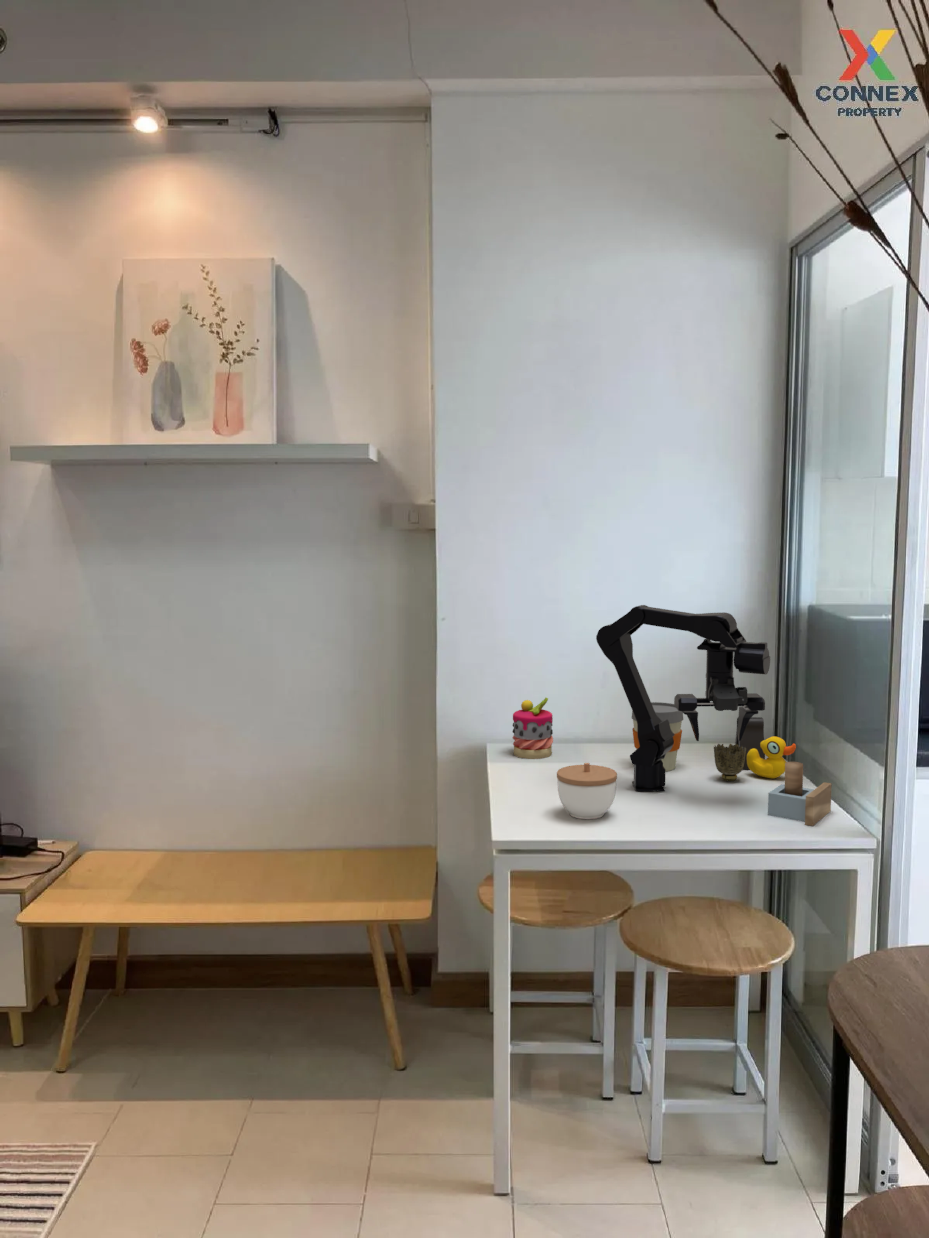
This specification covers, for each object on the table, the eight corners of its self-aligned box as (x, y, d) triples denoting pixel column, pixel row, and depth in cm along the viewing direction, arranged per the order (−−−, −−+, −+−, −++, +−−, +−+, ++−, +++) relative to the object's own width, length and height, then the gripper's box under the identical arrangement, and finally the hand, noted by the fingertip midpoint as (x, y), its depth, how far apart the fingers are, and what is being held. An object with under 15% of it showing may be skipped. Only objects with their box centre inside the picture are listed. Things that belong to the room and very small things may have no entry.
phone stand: (765, 770, 250) (766, 721, 249) (740, 770, 251) (741, 721, 249) (757, 760, 259) (758, 713, 258) (733, 760, 260) (734, 713, 258)
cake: (512, 759, 263) (512, 701, 261) (512, 749, 273) (512, 693, 271) (553, 759, 262) (553, 701, 261) (551, 749, 273) (551, 693, 271)
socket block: (767, 816, 216) (768, 792, 216) (781, 806, 223) (781, 784, 222) (805, 823, 212) (806, 799, 211) (818, 813, 218) (819, 790, 217)
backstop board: (804, 824, 210) (805, 796, 209) (823, 809, 219) (823, 782, 219) (812, 826, 209) (813, 797, 208) (830, 810, 218) (831, 783, 218)
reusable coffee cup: (632, 773, 249) (632, 712, 247) (629, 759, 261) (630, 701, 259) (684, 774, 248) (685, 713, 246) (680, 760, 260) (681, 702, 258)
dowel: (792, 813, 215) (793, 767, 213) (780, 808, 218) (781, 762, 217) (805, 811, 216) (806, 764, 215) (793, 806, 219) (794, 760, 218)
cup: (742, 775, 246) (743, 743, 245) (748, 784, 238) (748, 750, 237) (710, 775, 246) (711, 742, 245) (715, 784, 239) (715, 750, 238)
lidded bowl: (544, 815, 217) (544, 764, 216) (578, 801, 227) (578, 752, 226) (595, 827, 209) (595, 774, 208) (628, 812, 219) (628, 761, 217)
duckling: (797, 778, 243) (799, 736, 242) (791, 783, 239) (792, 741, 237) (750, 771, 249) (751, 731, 248) (743, 776, 245) (744, 735, 243)
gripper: (684, 677, 217) (682, 750, 219) (772, 677, 217) (771, 749, 219) (674, 668, 228) (673, 737, 230) (758, 668, 228) (757, 736, 230)
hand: (718, 740), depth 227 cm, fingers open, 9 cm apart
